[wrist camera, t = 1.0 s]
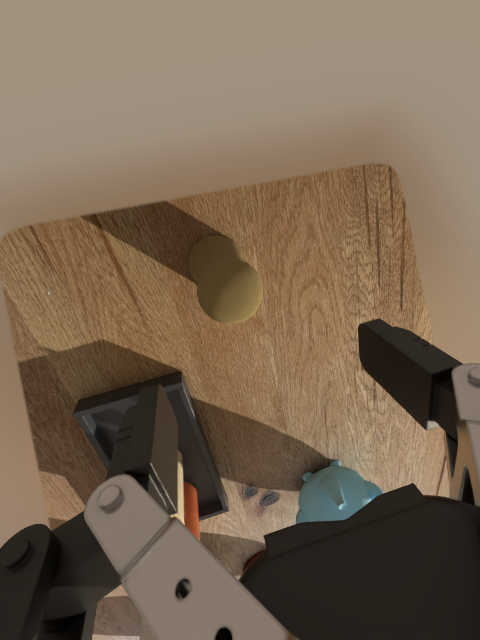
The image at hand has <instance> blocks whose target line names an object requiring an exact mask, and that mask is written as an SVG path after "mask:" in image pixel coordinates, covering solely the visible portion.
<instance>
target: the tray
mask: <svg viewBox="0 0 480 640" xmlns="http://www.w3.org/2000/svg"><path fill="white" fill-rule="evenodd" d="M157 384H161V385H162V387H163V389H164V391H165V393H166V396H167V398H168V400H169V402H170V405H171V407H172V409H173V412H174V414H175V417H176V421H177V427H178V451H179V452H180V453H181V454H182V456H183V480H184V482H188V483H191V484H193V485H194V486H195V487H196V489H197V496H198V511H199V521H200V520H203V519H207V518H210V517H213V516H216V515H219V514H222V513H225V512H228V511H229V505H228V499H227V495H226V492H225V490H224V487H223V484H222V481H221V479H220V476H219V473H218V470H217V467H216V465H215V462H214V459H213V456H212V454H211V451H210V448H209V445H208V443H207V440H206V437H205V434H204V431H203V429H202V426H201V423H200V420H199V418H198V415H197V412H196V409H195V406H194V404H193V401H192V398H191V395H190V393H189V390H188V387H187V384H186V382H185V379H184V376H183V373H182V371H180V372H177V373H173V374H170V375H166V376H163V377H159V378H156V379H152V380H149V381H145V382H142V383H138V384H135V385H131V386H128V387H124V388H121V389H117V390H114V391H110V392H107V393H103V394H100V395H96V396H92V397H89V398H85V399H82V400H79V401H78V403H77V405H76V408H75V410H74V412H73V415H74V416H75V418H76V419H77V421H78V422H79V424H80V426H81V427H82V429H83V431H84V432H85V434H86V435H87V437H88V439H89V440H90V442H91V444H92V445H93V447H94V448H95V450H96V452H97V453H98V455H99V457H100V458H101V460H102V461H103V463H104V465H105V466H106V468H107V470H109V466H110V462H111V458H112V454H113V450H114V446H115V443H116V438H117V433H119V431H118V429H119V425H120V421H121V418H122V417H123V415H124V414H125V412H126V411H127V409H128V408H129V407H131V406H134V405H137V402H138V396H139V391H140V390H141V389H144V388H147V387H151V386H154V385H157Z"/></svg>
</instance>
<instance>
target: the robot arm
mask: <svg viewBox="0 0 480 640" xmlns="http://www.w3.org/2000/svg"><path fill="white" fill-rule="evenodd" d="M358 338H359V357H360V361H361V364H362V366H363V368H364V369H365V371H366V372H367V373H368V374H369V375H370V376H371V377H372V378H373V379H374V380H375V381H376V382H377V383H378V384H379V385H380V386H382V387H383V388H384V389H385V390H386V391H387V392H388V393H389V394H390V395H391V396H392V397H393V398H394V399H395V400H396V401H397V402H398V403H399V404H400V405H401V406H402V407H403V408H404V409H405V410H406V411H407V412H408V413H409V414H410V415H411V416H412V417H413V418H414V419H415V420H416V421H417V422H418V423H419V424H420V425H421V426H422V427H423V428H424V429H425V430H426V431H427V430H430V429H433V428H436V427H438V426H440V427H441V428H442V429H443V430H444V445H445V453H446V461H447V470H448V478H449V488H450V498H447V497H441V496H431V495H423V494H422V493H421V492H420V491H419V489H418V488H417V487H416V486H415V484H414V483H412V484H410V485H407V486H404V487H401V488H398V489H395V490H392V491H390V492H387V493H384V494H381V495H378V496H377V497H375V498H374V499H373V500H371V501H370V502H369V503H367V504H366V505H365V506H363V507H362V508H361V509H359V510H358V511H357V512H356V513H354V514H353V515H352V516H350V517H349V518H347V519H345V520H335V521H316V522H301V523H298V524H295V525H292V526H290V527H287V528H284V529H281V530H278V531H275V532H272V533H270V534H267V535H264V539H265V543H266V547H267V549H266V550H265V551H264V552H262V553H261V554H260V555H259V556H258V557H256V558H255V559H254V560H253V561H252V562H251V564H250V565H249V566H248V567H247V569H246V570H245V571H244V573H243V574H242V576H241V578H240V579H239V580H238V579H237V578H236V577H235V576H234V575H233V574H232V573H231V572H230V571H229V570H228V569H227V568H226V567H225V566H224V565H223V564H222V563H221V562H220V561H219V560H218V559H217V558H216V557H215V556H214V555H213V554H212V553H211V552H210V551H209V550H208V549H207V548H206V547H205V545H204V544H203V543H202V542H201V541H200V540H199V539H198V538H197V537H196V536H195V535H194V534H193V533H192V532H191V531H190V530H189V529H188V528H187V527H186V526H185V525H184V524H183V523H182V522H181V521H180V520H179V519H178V518H177V517H175V516H174V517H173V518H172V517H170V515H173V514H176V513H178V427H177V421H176V417H175V414H174V412H173V409H172V407H171V405H170V402H169V400H168V398H167V396H166V393H165V391H164V389H163V387H162V385H161V384H157V385H154V386H151V387H147V388H144V389H141V390H140V391H139V396H138V402H137V405H134V406H131V407H129V408H128V409H127V411H126V412H125V414H124V415H123V417H122V418H121V421H120V425H119V429H118V431H119V433H117V438H116V443H115V446H114V450H113V454H112V458H111V462H110V466H109V470H108V474H107V478H106V481H104V482H103V483H102V484H101V485H99V486H98V487H97V488H96V489H95V491H94V492H93V493H92V494H91V496H90V497H89V499H88V501H87V503H86V505H85V509H84V511H83V512H81V513H80V514H78V515H77V516H75V517H74V518H72V519H71V520H69V521H67V522H66V523H64V524H63V525H61V526H59V527H58V528H56V529H55V530H53V531H51V530H50V529H49V528H48V527H47V526H46V525H43V524H34V525H31V526H29V527H26V528H24V529H23V530H21V531H19V532H18V533H16V534H15V535H14V536H13V537H11V538H10V539H9V540H8V541H7V542H6V543H5V544H4V545H3V546H2V547H1V548H0V640H92V635H93V628H94V622H95V615H96V608H97V602H98V601H99V600H100V599H102V598H103V597H104V596H106V595H107V594H108V593H110V592H111V591H113V590H114V589H115V588H117V587H118V586H119V585H121V584H122V586H123V587H124V589H125V591H126V592H127V594H128V595H129V597H130V599H131V600H132V602H133V604H134V605H135V607H136V609H137V610H138V612H139V613H140V615H141V617H142V618H143V620H144V622H145V623H146V625H147V627H148V628H149V630H150V631H151V633H152V635H153V636H154V638H155V640H480V364H476V363H469V364H462V363H461V362H459V361H458V360H456V359H454V358H453V357H451V356H450V355H448V354H446V353H445V352H443V351H442V350H440V349H438V348H437V347H435V346H434V345H430V343H429V342H427V341H426V340H424V339H421V337H419V336H418V335H416V334H414V333H413V332H411V331H409V330H406V329H403V328H399V327H396V326H395V327H392V326H391V325H389V324H387V323H386V322H384V321H383V320H381V319H375V320H372V321H368V322H365V323H362V324H360V325H359V327H358Z"/></svg>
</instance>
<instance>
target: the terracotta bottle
mask: <svg viewBox="0 0 480 640" xmlns="http://www.w3.org/2000/svg"><path fill="white" fill-rule="evenodd" d="M184 524H185V526H186V527H187V528H188V529H189V530H190V531H191V532H192V533H193V534H194V535H195V536H196V537H197V538H198V539H199V540H200V526H199V511H198V496H197V489H196V487H195V486H194V485H193V484H191V483H188V482H184Z"/></svg>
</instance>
